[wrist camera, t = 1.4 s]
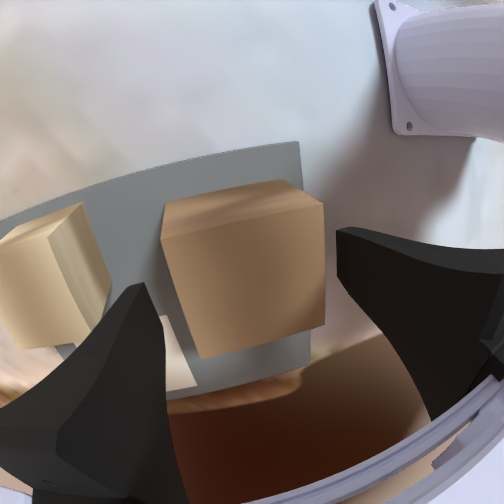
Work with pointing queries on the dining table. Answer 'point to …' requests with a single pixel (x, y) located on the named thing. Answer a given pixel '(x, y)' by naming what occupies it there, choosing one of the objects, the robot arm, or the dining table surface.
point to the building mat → (155, 265)
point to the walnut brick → (247, 264)
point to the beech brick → (52, 279)
